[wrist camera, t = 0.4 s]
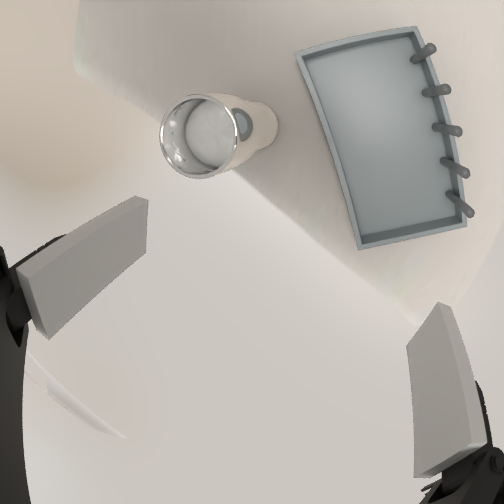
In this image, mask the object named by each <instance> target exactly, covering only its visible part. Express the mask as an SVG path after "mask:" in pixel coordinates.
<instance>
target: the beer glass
mask: <svg viewBox="0 0 504 504" xmlns="http://www.w3.org/2000/svg"><path fill="white" fill-rule="evenodd" d="M277 132H278V121H277V117H276V115H275V113H274V112H273V111H272V109H271V108H270V107H268V106H267V105H265V104H263V103H260V102H247V101H245V100H243V99H241V98H239V97H237V96H233V95H229V94H223V93H207V94H193V95H188V96H185V97H183V98H181V99H179V100H178V101H176V102H175V103H174V104H173V105H172V106H171V107H170V108H169V109H168V110H167V112H166V113H165V115H164V117H163V120H162V122H161V126H160V135H159V138H160V146H161V149H162V152H163V155H164V157H165V159H166V160H167V162H168V163H169V164H170V165H171V167H172V168H173V169H175V170H176V171H177V172H179V173H180V174H182V175H184V176H186V177H189V178H195V179H205V178H209V177H212V176H215V175H217V174H220V173H223V172H226V171H228V170H231V169H233V168H235V167H237V166H239V165H240V164H242V163H243V162H245V161H246V160H248V159H249V158H250V157H251V156H252V155H253V154H254V152H255V151H256V150H260V149H263V148H265V147H267V146H268V145H270V144H271V143H272V142H273V140H274V139H275V137H276V135H277Z"/></svg>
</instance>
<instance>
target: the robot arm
mask: <svg viewBox="0 0 504 504" xmlns="http://www.w3.org/2000/svg"><path fill="white" fill-rule="evenodd" d="M147 215H148V200H146V199H144V198H140V197H137V196H133V197H131V198H130V199H128V200H126V201H124V202H122V203H120V204H118V205H117V206H115V207H113V208H111V209H109V210H108V211H106V212H104V213H102V214H101V215H99V216H97V217H95V218H93V219H92V220H90V221H88V222H87V223H85V224H83V225H82V226H80V227H78V228H77V229H75V230H73V231H72V232H70V233H68V234H65V235H62V236H59V237H56V238H54V239H52V240H51V241H49V242H47V243H46V244H45V246H41V247H40V248H38V249H37V251H36V250H35V251H34V252H32V253H31V254H29V255H28V256H26V257H25V258H23V259H22V260H20V261H19V262H18V263H16V264H15V265H13V266H12V267H11V268H8V265H7V261H6V257H5V254H4V250H3V248H2V247H1V246H0V504H31V501H30V496H29V490H28V485H27V477H26V469H25V461H24V448H23V431H22V430H23V429H22V397H23V377H24V364H25V354H26V346H27V338H28V332H29V328H28V324H27V322H28V321H30V320H31V319H32V320H33V323H34V325H35V327H36V330H37V331H38V332H40V333H41V334H42V335H43V336H45V337H46V338H47V339H48V340H50V339H51V338H52V337H53V336H54V335H55V334H56V333H57V332H58V331H59V330H60V329H61V328H62V327H63V326H64V325H65V324H66V323H67V322H68V321H69V320H70V319H71V318H73V316H75V314H77V313H78V312H79V311H80V310H81V309H82V308H83V307H84V306H85V305H86V304H88V303H89V302H90V301H91V300H92V299H93V298H94V297H95V296H96V295H97V294H99V293H100V292H101V291H102V290H103V289H104V288H105V287H106V286H108V284H110V283H111V282H112V281H113V280H114V279H115V278H117V277H118V276H119V275H120V274H121V273H122V272H124V270H126V269H127V268H128V267H129V266H130V265H132V264H133V263H134V262H135V261H136V260H138V259H139V258H140V257H141V256H142V255H144V254H145V253H146V235H147ZM406 348H407V355H408V363H409V372H410V381H411V392H412V405H413V423H414V478H431V477H433V476H434V475H437V474H438V473H440V472H442V478H441V479H439V480H437V481H435V482H434V483H431V484H430V485H427V486H425V487H424V488H423V489H422V490H421V491H422V492H423V491H425V490H427V489H430V488H431V489H430V491H429V492H428V493H426V494H425V495H426V496H425V497H424V498H423V500H422V501H421V502H420V504H504V453H503V452H502V450H500V449H499V448H496V447H493V444H492V437H491V431H490V426H489V421H488V416H487V414H486V412H487V411H486V406H485V405H484V404H485V402H484V397H483V393H482V391H481V389H480V387H479V385H478V383H477V381H475V380H474V376H473V372H472V369H471V365H470V362H469V358H468V355H467V352H466V349H465V346H464V343H463V340H462V337H461V334H460V331H459V328H458V325H457V323H456V320H455V317H454V314H453V312H452V309H451V307H450V306H447V305H445V304H442V303H439V302H437V304H436V305H435V307H434V308H433V310H432V311H431V313H430V314H429V316H428V317H427V318H426V320H425V321H424V323H423V324H422V326H421V327H420V328H419V330H418V331H417V332H416V334H415V335H414V336H413V338H412V339H411V341H410V342H409V343H408V344H407V346H406Z"/></svg>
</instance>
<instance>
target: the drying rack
mask: <svg viewBox="0 0 504 504" xmlns="http://www.w3.org/2000/svg"><path fill="white" fill-rule="evenodd" d="M435 52H436V46H435V45H434V44H432V43H428V44H427V45H425V43H424V41H423V39H422V37H421V34H420V32H419V30H418V28H417V26H411V27H403V28H396V29H390V30H383V31H378V32H372V33H367V34H362V35H358V36H353V37H349V38H345V39H341V40H337V41H333V42H329V43H325V44H322V45H318V46H315V47H311V48H308V49H305V50H301V51H298V52H295V53H294V55H295V57H296V59H297V62H298V64H299V66H300V69H301V71H302V74H303V76H304V78H305V81H306V83H307V86H308V88H309V91H310V94H311V96H312V99H313V101H314V104H315V107H316V109H317V112H318V115H319V118H320V120H321V123H322V126H323V129H324V132H325V135H326V138H327V141H328V144H329V147H330V150H331V153H332V156H333V159H334V162H335V166H336V169H337V172H338V176H339V179H340V182H341V186H342V189H343V193H344V197H345V200H346V204H347V208H348V211H349V215H350V219H351V223H352V227H353V231H354V235H355V240H356V244H357V248H358V250H362V249H367V248H372V247H377V246H381V245H386V244H391V243H396V242H400V241H405V240H409V239H414V238H419V237H423V236H428V235H432V234H437V233H441V232H446V231H450V230H454V229H459V228H463V227H467V218H466V216H467V217H468V218H472V217H473V216H474V213H475V212H474V210H473V209H472V208H471V207H470V206H469V205H468V204H467V203H465V197H464V189H463V182H462V177H463V178H465V179H467V178H469V176H470V171H469V169H467V168H465V167H463V166H461V165H460V163H459V157H458V152H457V147H456V142H455V138H454V136H457V137H460V136H461V135H462V129H461V128H460V127H459V126H454V125H451V121H450V117H449V113H448V110H447V106H446V103H445V99H444V96H443V95H446V94H450V93H451V88H450V86H449V85H448V84H442V85H440V83H439V80H438V77H437V74H436V72H435V69H434V66H433V63H432V61H431V58H430V55H432V54H433V53H435Z"/></svg>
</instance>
